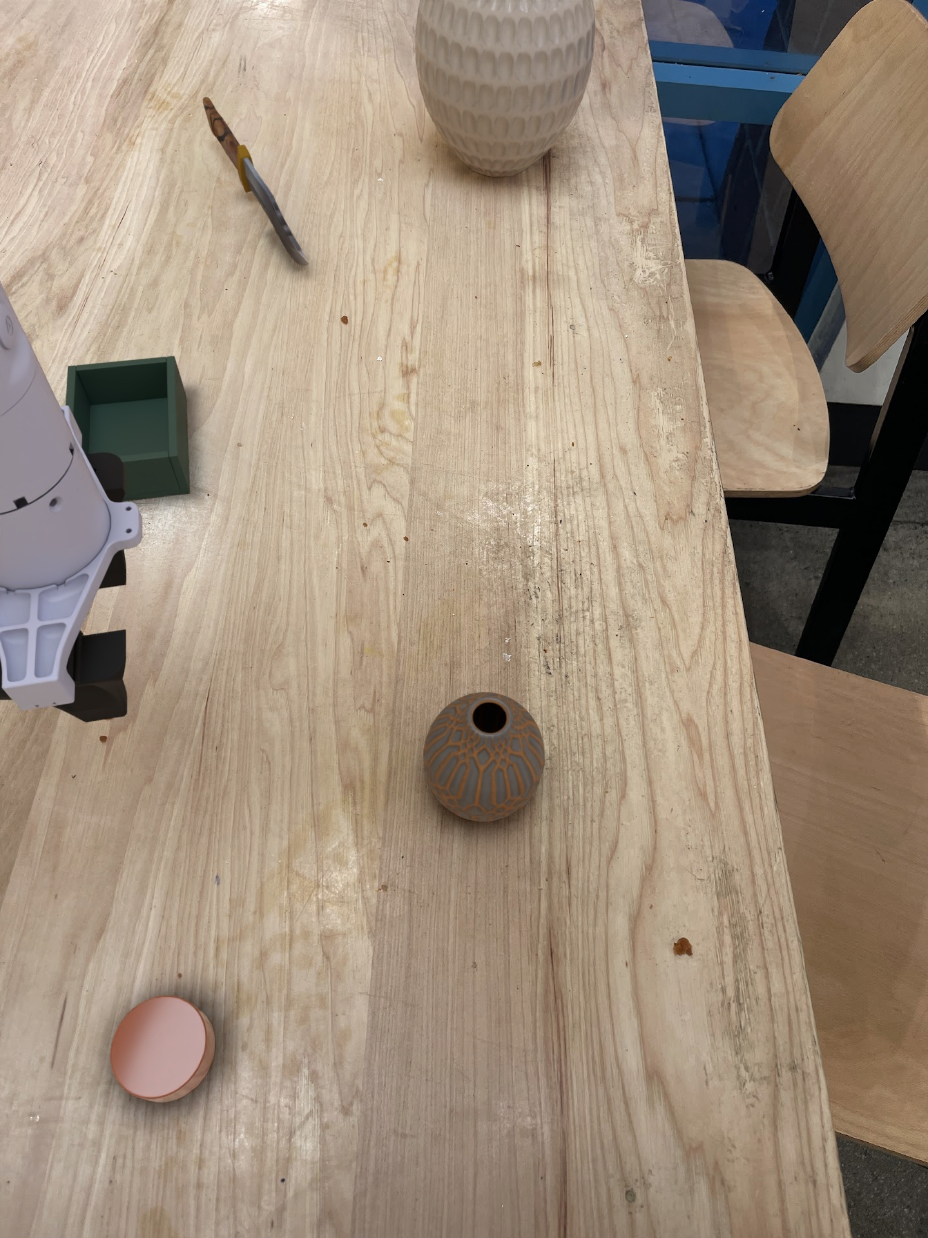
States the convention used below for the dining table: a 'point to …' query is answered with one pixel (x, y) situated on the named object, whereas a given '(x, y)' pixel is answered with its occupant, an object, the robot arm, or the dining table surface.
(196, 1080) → the cylinder
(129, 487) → the tub
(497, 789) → the vase
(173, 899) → the dining table surface
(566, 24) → the vase
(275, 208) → the knife
